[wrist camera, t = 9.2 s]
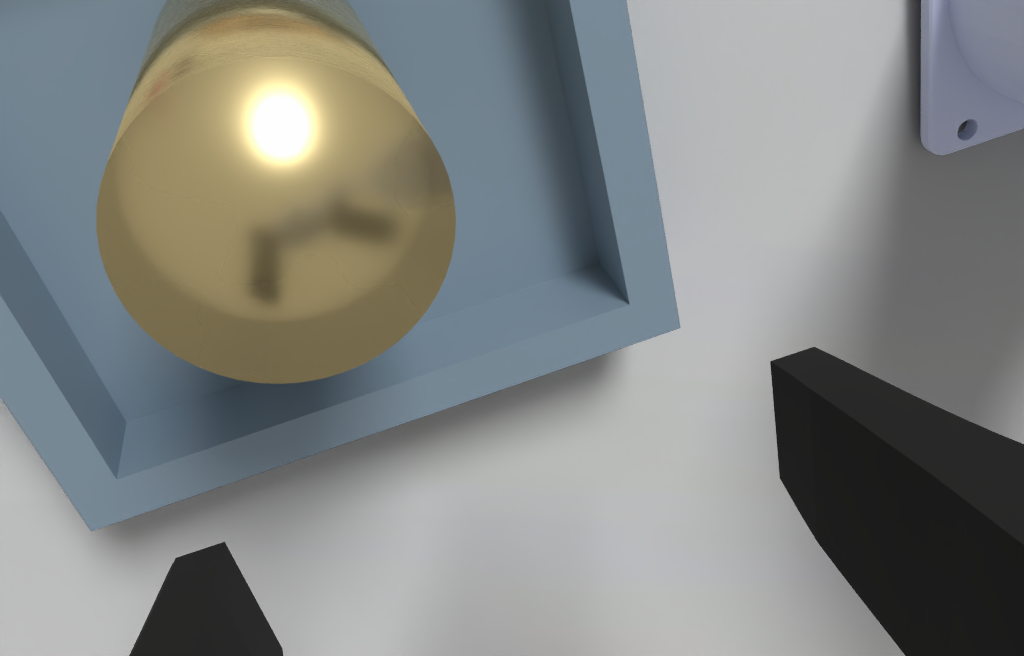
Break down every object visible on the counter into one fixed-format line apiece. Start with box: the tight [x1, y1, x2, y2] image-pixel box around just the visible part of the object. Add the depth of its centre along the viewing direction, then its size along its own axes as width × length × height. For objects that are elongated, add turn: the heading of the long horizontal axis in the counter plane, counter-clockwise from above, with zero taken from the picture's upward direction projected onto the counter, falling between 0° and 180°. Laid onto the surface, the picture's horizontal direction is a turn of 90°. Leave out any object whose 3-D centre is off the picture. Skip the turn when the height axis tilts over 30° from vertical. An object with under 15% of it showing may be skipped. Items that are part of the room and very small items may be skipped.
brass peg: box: [96, 0, 456, 384], centre depth 14 cm, size 4×4×8 cm
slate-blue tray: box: [0, 0, 680, 531], centre depth 18 cm, size 13×13×3 cm
